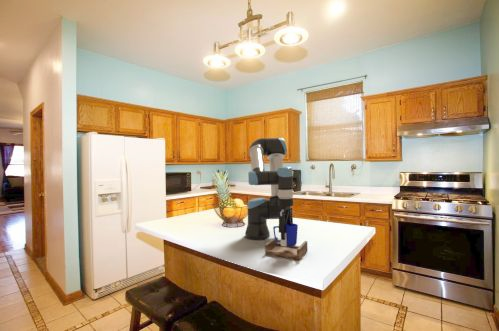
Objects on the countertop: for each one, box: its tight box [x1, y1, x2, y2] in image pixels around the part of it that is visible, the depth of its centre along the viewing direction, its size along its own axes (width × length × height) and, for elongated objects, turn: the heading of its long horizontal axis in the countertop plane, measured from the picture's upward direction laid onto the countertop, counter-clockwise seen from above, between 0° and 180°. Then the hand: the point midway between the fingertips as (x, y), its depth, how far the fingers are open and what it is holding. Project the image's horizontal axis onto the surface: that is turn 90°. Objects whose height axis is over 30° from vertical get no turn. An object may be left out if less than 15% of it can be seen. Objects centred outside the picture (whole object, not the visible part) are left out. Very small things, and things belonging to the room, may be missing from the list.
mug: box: [272, 222, 299, 246], centre depth 124 cm, size 8×12×10 cm
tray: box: [264, 236, 308, 261], centre depth 125 cm, size 17×13×5 cm
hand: (286, 243), depth 125 cm, fingers closed on mug, 7 cm apart
